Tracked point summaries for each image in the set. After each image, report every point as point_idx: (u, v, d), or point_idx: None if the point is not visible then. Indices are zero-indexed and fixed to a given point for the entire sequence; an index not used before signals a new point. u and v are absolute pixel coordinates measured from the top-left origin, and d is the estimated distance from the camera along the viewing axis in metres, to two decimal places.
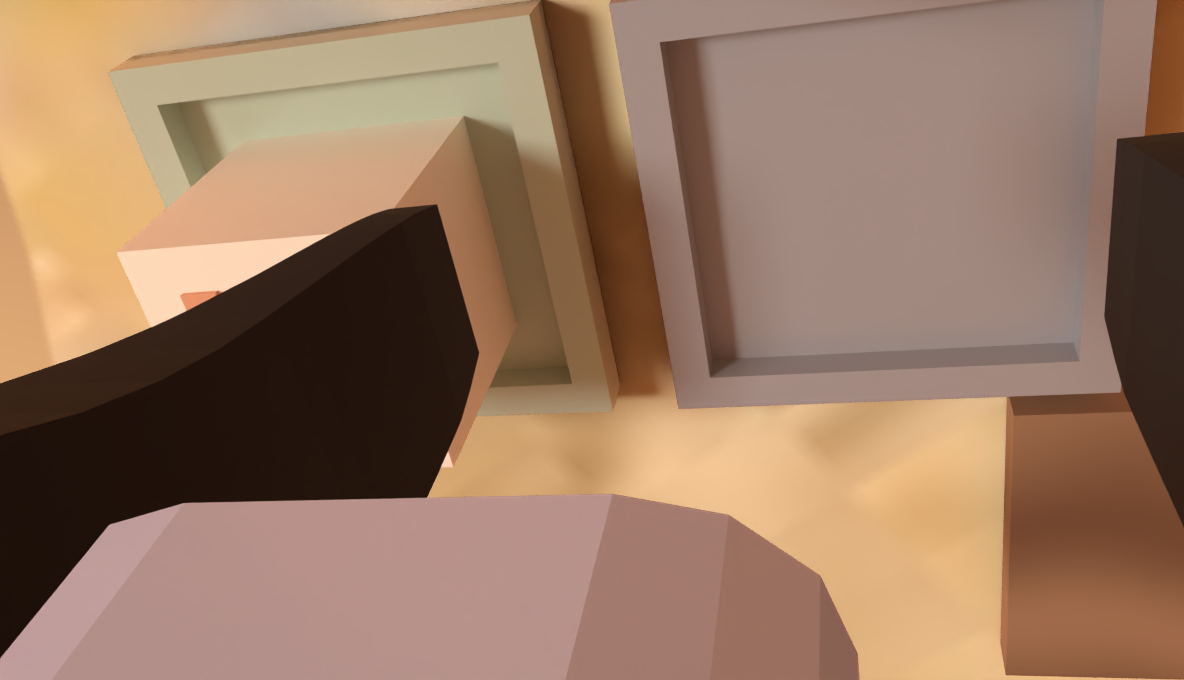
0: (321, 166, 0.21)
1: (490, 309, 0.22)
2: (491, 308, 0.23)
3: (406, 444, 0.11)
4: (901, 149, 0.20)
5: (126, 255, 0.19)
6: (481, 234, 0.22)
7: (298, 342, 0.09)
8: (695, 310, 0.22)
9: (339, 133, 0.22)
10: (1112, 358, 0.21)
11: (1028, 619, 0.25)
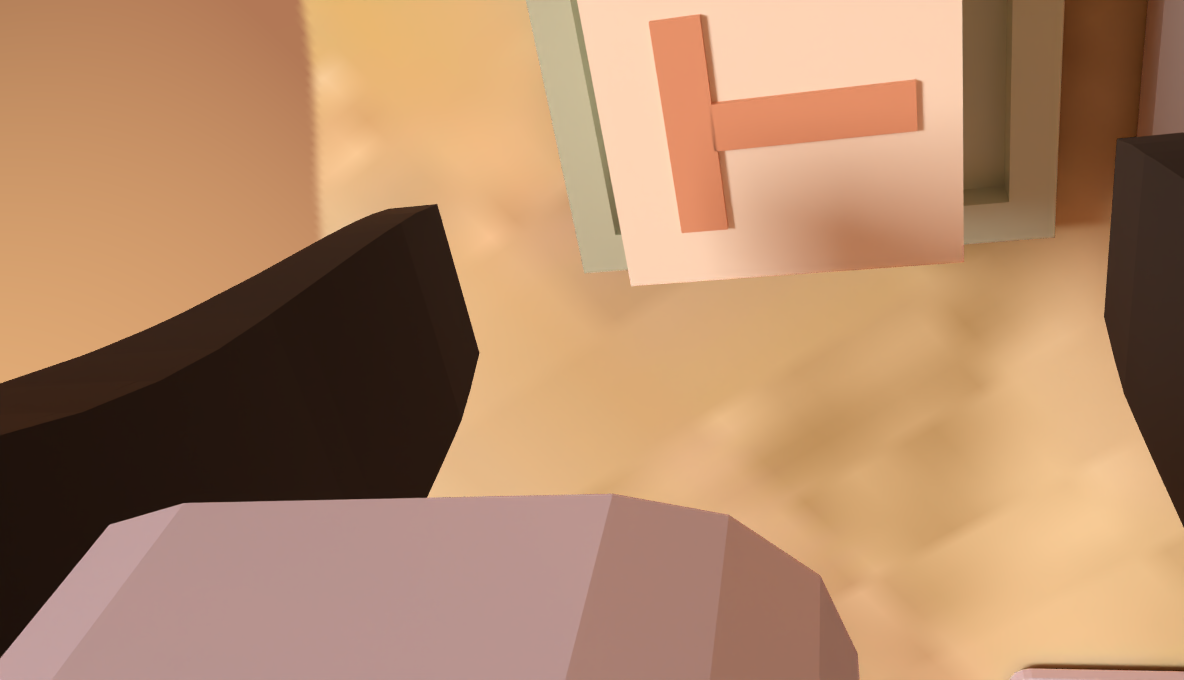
0: None
1: None
2: None
3: (406, 443, 0.11)
4: None
5: None
6: None
7: (298, 342, 0.09)
8: None
9: None
10: None
11: None
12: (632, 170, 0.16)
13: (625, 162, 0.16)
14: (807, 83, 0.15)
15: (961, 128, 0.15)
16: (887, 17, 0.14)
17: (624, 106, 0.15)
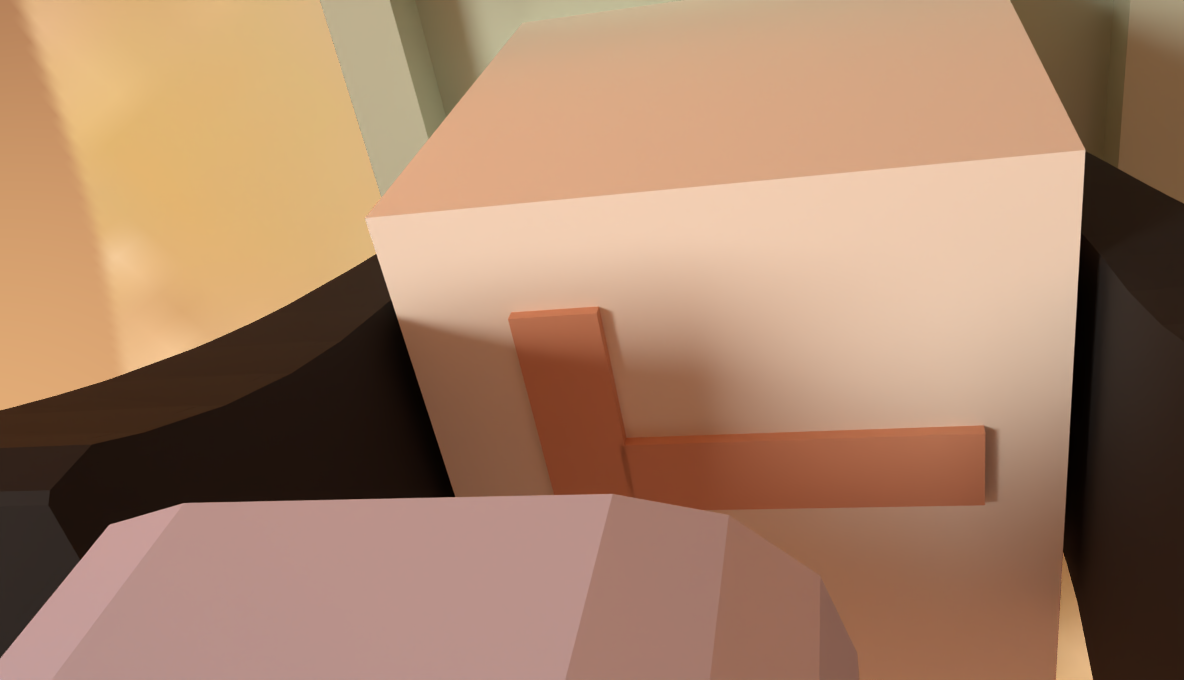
0: (745, 46, 0.10)
1: None
2: None
3: None
4: None
5: (388, 225, 0.08)
6: None
7: None
8: None
9: None
10: None
11: None
12: None
13: None
14: (789, 419, 0.08)
15: (1062, 500, 0.08)
16: (935, 328, 0.08)
17: (479, 434, 0.09)
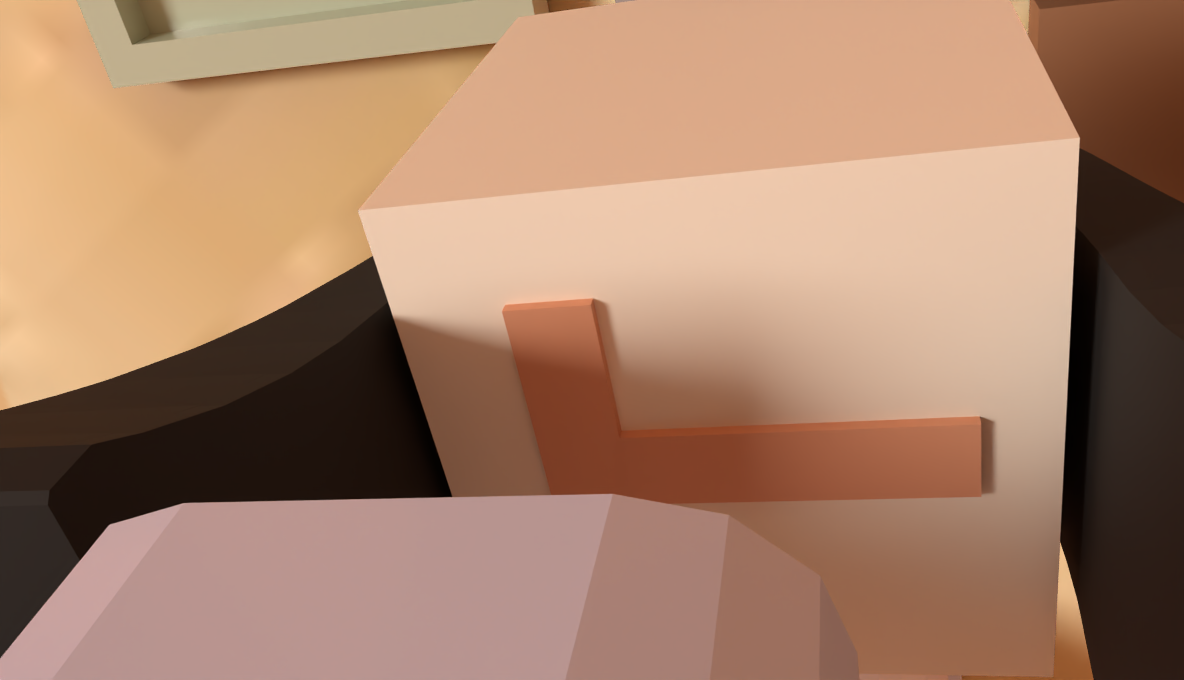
0: (739, 39, 0.10)
1: None
2: None
3: None
4: None
5: (381, 217, 0.08)
6: None
7: None
8: None
9: None
10: None
11: None
12: None
13: None
14: (786, 412, 0.08)
15: (1059, 492, 0.08)
16: (931, 318, 0.08)
17: (474, 428, 0.09)
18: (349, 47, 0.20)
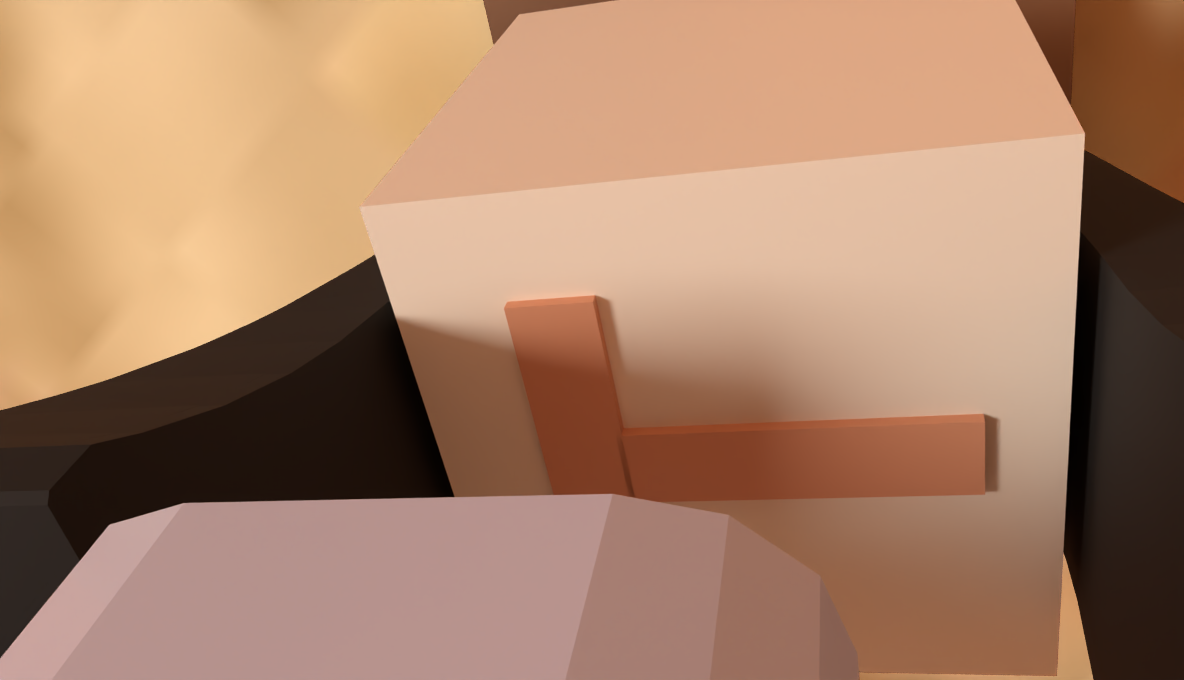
0: (743, 35, 0.10)
1: None
2: None
3: None
4: None
5: (383, 214, 0.08)
6: None
7: None
8: None
9: None
10: None
11: None
12: None
13: None
14: (790, 408, 0.08)
15: (1063, 490, 0.08)
16: (934, 317, 0.08)
17: (476, 425, 0.09)
18: None
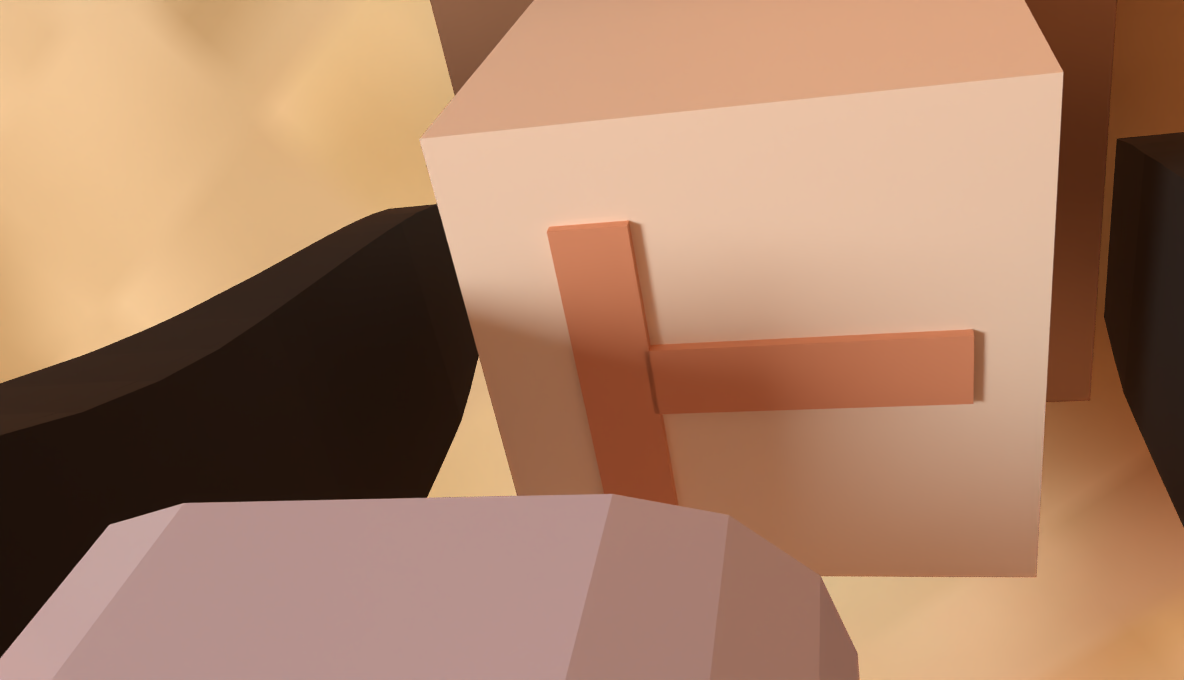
0: None
1: None
2: None
3: (407, 444, 0.11)
4: None
5: (440, 145, 0.09)
6: None
7: (298, 342, 0.09)
8: None
9: None
10: None
11: None
12: (533, 429, 0.10)
13: (522, 418, 0.10)
14: (800, 326, 0.09)
15: (1043, 400, 0.09)
16: (930, 237, 0.09)
17: (516, 343, 0.10)
18: None
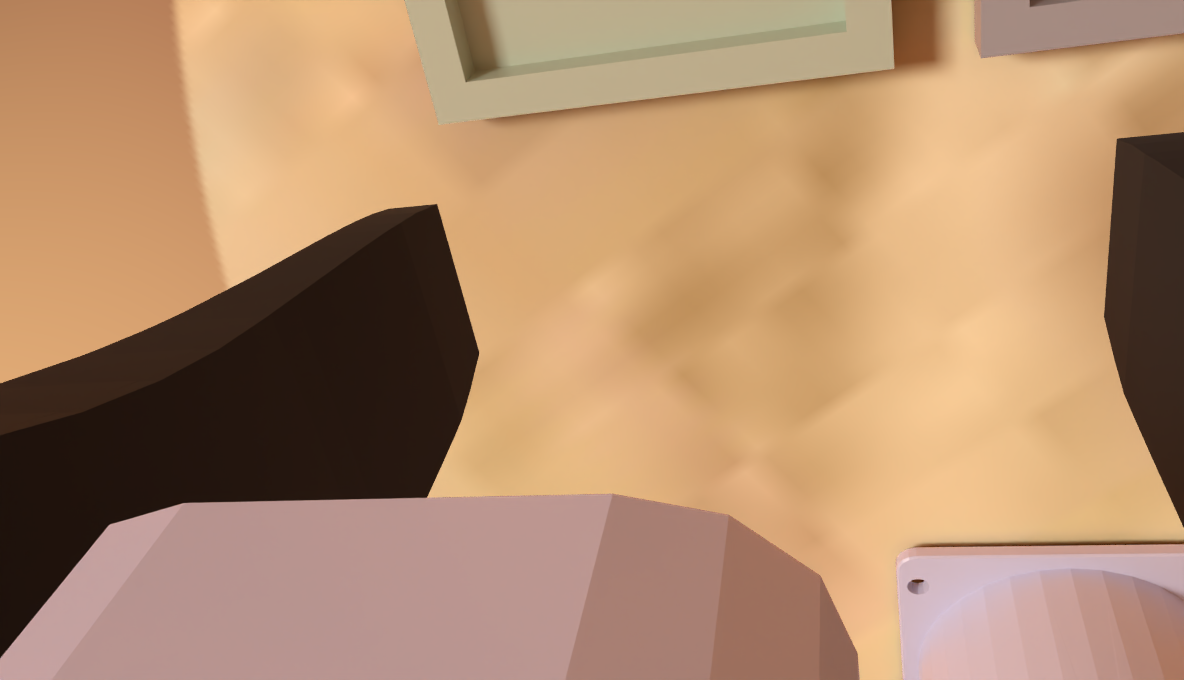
0: None
1: None
2: None
3: (406, 444, 0.11)
4: None
5: None
6: None
7: (298, 342, 0.09)
8: None
9: None
10: None
11: None
12: None
13: None
14: None
15: None
16: None
17: None
18: (693, 80, 0.20)
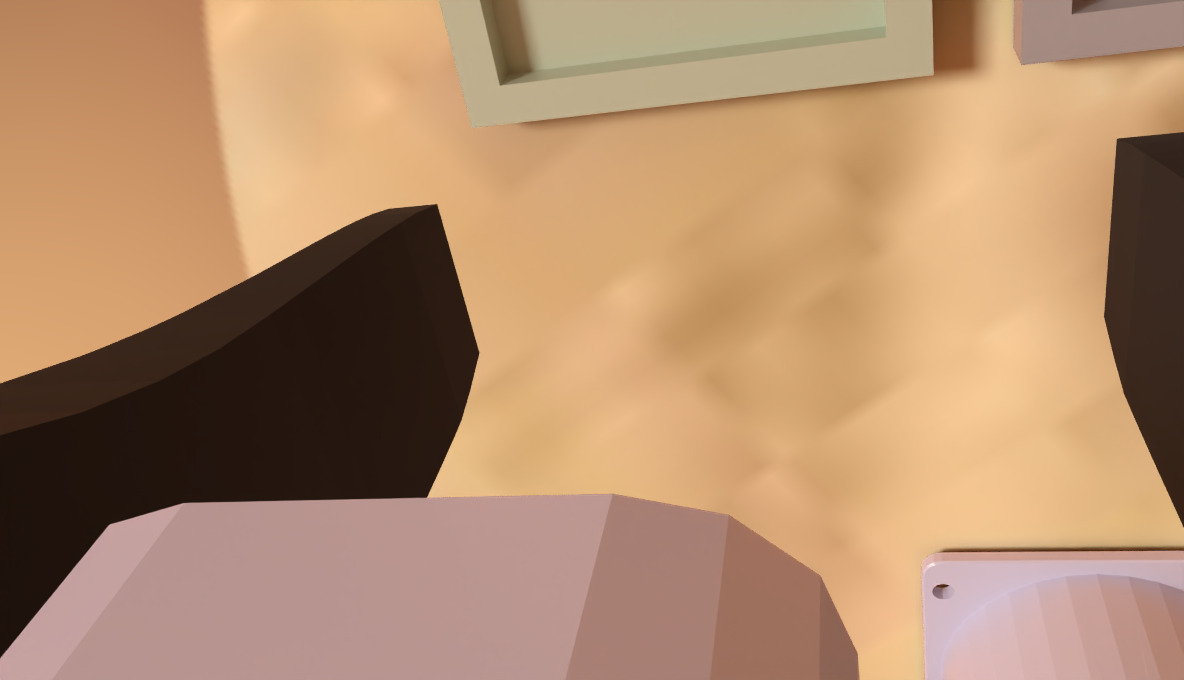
0: None
1: None
2: None
3: (406, 444, 0.11)
4: None
5: None
6: None
7: (298, 342, 0.09)
8: None
9: None
10: None
11: None
12: None
13: None
14: None
15: None
16: None
17: None
18: (730, 85, 0.20)
